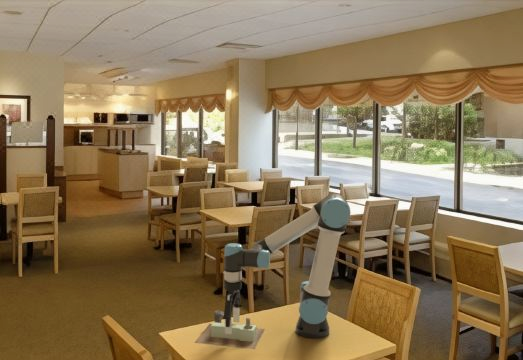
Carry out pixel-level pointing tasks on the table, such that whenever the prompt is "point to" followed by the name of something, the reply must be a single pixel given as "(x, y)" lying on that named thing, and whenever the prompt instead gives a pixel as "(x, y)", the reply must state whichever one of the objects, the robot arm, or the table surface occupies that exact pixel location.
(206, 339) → the pintle board
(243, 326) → the link
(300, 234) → the robot arm
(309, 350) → the table surface
